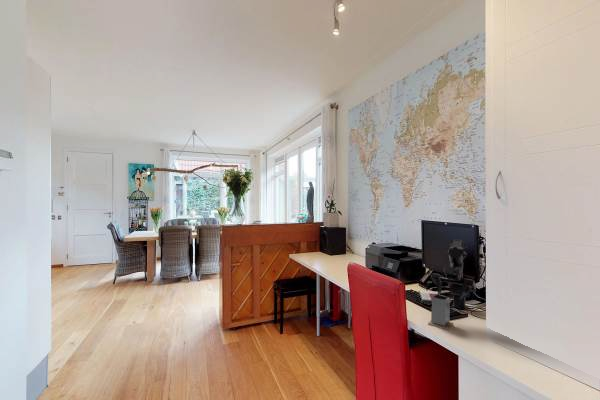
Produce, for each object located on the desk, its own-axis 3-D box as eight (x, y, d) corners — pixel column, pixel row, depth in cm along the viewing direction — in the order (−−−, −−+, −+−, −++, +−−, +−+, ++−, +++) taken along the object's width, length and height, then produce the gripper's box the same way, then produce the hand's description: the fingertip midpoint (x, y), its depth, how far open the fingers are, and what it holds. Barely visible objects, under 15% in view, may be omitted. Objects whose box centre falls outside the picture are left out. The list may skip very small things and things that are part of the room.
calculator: (421, 298, 148) (418, 289, 163) (421, 306, 148) (418, 296, 163) (443, 300, 145) (438, 290, 159) (443, 308, 145) (438, 297, 159)
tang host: (434, 320, 130) (433, 311, 130) (453, 325, 124) (452, 316, 124) (427, 325, 124) (427, 316, 124) (447, 331, 118) (447, 322, 118)
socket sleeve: (436, 318, 128) (436, 293, 128) (449, 322, 124) (449, 297, 124) (431, 322, 124) (431, 296, 124) (445, 326, 120) (445, 300, 120)
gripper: (431, 257, 135) (423, 283, 127) (473, 262, 122) (467, 292, 114) (437, 270, 141) (430, 295, 133) (478, 276, 127) (473, 305, 119)
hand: (448, 296), depth 124 cm, fingers open, 9 cm apart
